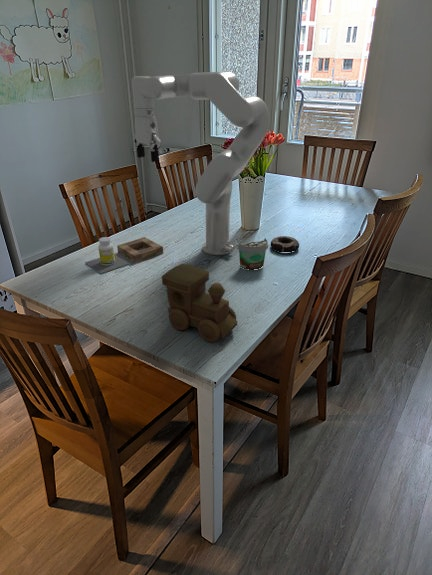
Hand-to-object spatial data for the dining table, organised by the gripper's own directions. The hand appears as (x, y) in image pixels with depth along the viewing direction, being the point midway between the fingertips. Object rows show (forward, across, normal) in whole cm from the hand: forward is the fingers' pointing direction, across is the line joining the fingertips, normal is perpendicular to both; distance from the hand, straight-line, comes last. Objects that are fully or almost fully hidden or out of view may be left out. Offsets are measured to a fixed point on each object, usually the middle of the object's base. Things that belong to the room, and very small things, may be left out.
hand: (148, 159), depth 165 cm
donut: (+34, -46, -33) cm, 66 cm away
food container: (+34, -50, -11) cm, 61 cm away
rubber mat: (+33, -10, +28) cm, 45 cm away
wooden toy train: (+34, -66, +29) cm, 79 cm away
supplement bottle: (+33, -10, +28) cm, 45 cm away
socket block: (+33, -10, +14) cm, 37 cm away
